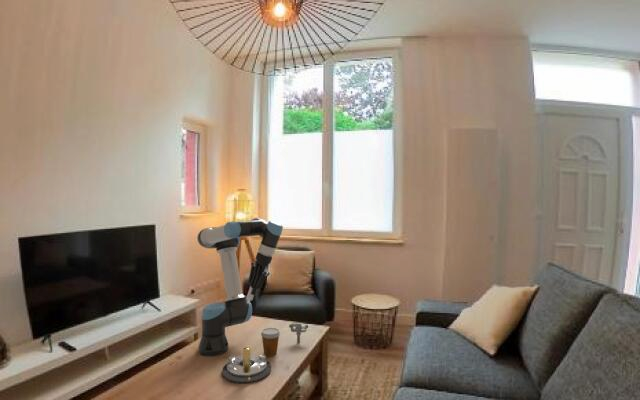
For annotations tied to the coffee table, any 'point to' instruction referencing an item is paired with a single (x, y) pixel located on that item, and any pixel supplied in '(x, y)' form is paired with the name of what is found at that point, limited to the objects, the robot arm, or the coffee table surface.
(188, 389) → the coffee table surface
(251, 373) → the lugged metal disc
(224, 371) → the base plate
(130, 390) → the coffee table surface
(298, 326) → the mechanical component
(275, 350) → the disposable coffee cup
